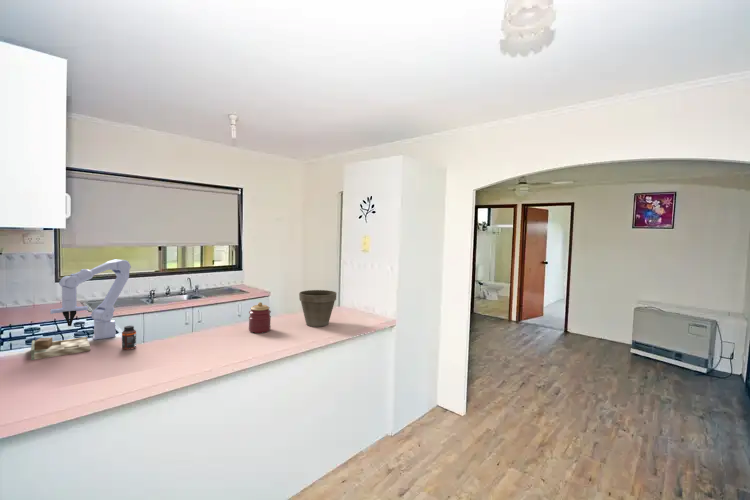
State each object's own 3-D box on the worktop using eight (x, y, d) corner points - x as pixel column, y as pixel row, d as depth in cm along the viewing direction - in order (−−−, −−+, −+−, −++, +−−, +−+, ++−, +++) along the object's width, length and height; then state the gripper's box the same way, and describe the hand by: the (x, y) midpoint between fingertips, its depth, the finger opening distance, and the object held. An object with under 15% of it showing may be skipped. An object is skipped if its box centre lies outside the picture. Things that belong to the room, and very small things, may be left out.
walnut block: (52, 345, 176) (52, 337, 175) (48, 348, 171) (48, 340, 171) (39, 346, 174) (39, 338, 173) (34, 349, 169) (34, 341, 169)
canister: (266, 333, 213) (267, 304, 212) (245, 333, 213) (245, 304, 213) (273, 328, 226) (273, 300, 225) (253, 327, 226) (253, 300, 226)
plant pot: (304, 318, 253) (305, 288, 252) (339, 320, 250) (339, 290, 249) (293, 328, 228) (294, 294, 227) (331, 330, 226) (332, 296, 225)
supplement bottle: (139, 347, 183) (139, 325, 182) (127, 350, 177) (127, 328, 176) (130, 345, 185) (130, 324, 184) (119, 349, 179) (119, 327, 178)
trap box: (87, 341, 189) (87, 333, 189) (90, 350, 176) (90, 341, 175) (32, 349, 175) (32, 340, 174) (31, 360, 161) (31, 350, 161)
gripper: (86, 296, 190) (87, 322, 191) (50, 299, 180) (50, 326, 181) (88, 299, 185) (88, 324, 186) (50, 302, 175) (50, 329, 176)
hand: (69, 325), depth 183 cm, fingers closed
